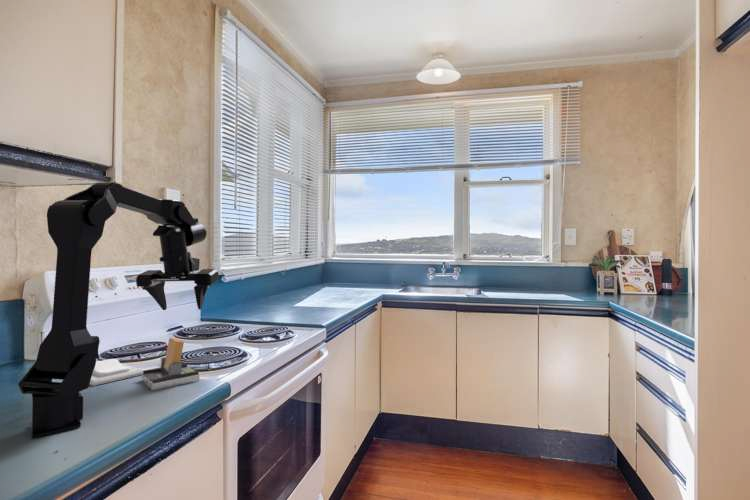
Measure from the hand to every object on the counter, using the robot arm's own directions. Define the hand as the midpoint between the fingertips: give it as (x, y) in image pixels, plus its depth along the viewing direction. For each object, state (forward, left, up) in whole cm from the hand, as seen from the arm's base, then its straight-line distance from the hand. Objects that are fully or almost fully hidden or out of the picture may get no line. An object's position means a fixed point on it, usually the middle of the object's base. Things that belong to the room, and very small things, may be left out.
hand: (182, 309), depth 103 cm
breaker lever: (-5, -8, -13) cm, 16 cm away
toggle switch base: (-5, -8, -15) cm, 18 cm away
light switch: (-15, +6, -16) cm, 23 cm away
